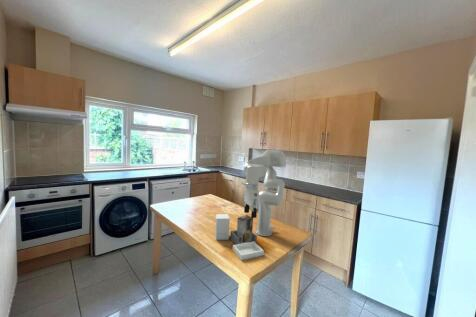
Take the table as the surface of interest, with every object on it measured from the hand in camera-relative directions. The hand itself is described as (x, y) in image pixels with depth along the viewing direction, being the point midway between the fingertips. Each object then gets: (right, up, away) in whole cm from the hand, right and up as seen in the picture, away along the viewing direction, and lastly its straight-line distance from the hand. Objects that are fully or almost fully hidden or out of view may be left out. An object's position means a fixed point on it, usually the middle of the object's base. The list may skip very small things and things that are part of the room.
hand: (250, 214), depth 117 cm
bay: (-4, -22, +16) cm, 28 cm away
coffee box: (-3, -23, +17) cm, 28 cm away
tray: (-1, -23, +2) cm, 24 cm away
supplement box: (-19, -21, +20) cm, 35 cm away
